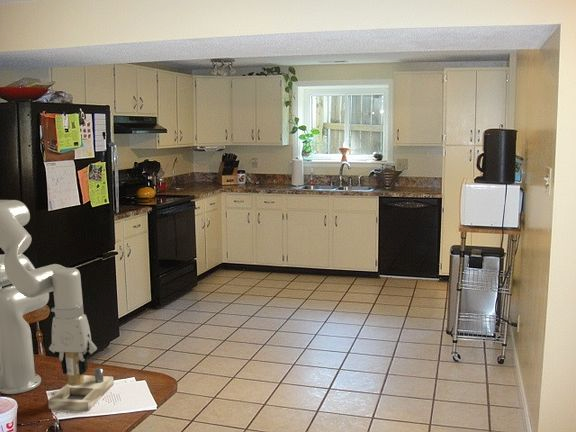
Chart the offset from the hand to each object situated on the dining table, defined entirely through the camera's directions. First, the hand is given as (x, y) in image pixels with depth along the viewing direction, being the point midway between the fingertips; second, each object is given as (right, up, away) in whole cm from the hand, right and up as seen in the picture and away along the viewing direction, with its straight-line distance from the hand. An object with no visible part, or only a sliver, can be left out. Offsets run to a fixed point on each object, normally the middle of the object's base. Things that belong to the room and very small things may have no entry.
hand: (75, 371), depth 179 cm
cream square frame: (0, -8, +5) cm, 10 cm away
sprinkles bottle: (0, -4, +1) cm, 4 cm away
